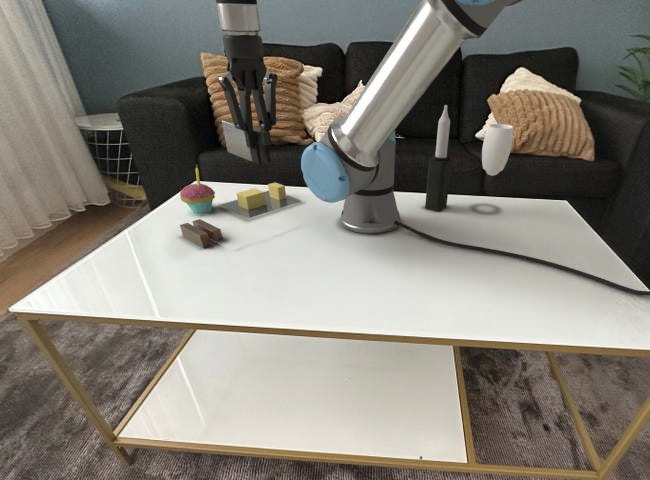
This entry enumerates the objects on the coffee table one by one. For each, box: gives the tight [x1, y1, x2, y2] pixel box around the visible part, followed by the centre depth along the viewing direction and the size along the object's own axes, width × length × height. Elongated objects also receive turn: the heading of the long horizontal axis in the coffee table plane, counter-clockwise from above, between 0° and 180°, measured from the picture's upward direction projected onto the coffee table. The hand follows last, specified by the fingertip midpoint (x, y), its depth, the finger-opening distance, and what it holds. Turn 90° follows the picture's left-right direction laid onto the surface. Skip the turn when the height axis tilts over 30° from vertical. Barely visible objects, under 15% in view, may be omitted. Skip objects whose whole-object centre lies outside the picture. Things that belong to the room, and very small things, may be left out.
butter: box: [235, 187, 267, 210], centre depth 111 cm, size 4×6×4 cm
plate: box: [218, 190, 302, 219], centre depth 114 cm, size 14×18×1 cm
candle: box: [424, 104, 453, 212], centre depth 107 cm, size 5×5×25 cm
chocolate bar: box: [179, 218, 223, 249], centre depth 95 cm, size 9×5×3 cm, turn 49°
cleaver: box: [221, 119, 272, 162], centre depth 96 cm, size 19×2×8 cm, turn 46°
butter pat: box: [267, 182, 287, 200], centre depth 116 cm, size 4×2×4 cm, turn 49°
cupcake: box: [179, 164, 216, 214], centre depth 106 cm, size 9×8×12 cm
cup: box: [481, 123, 514, 177], centre depth 108 cm, size 7×7×21 cm
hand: (261, 161), depth 95 cm, fingers closed on cleaver, 2 cm apart
